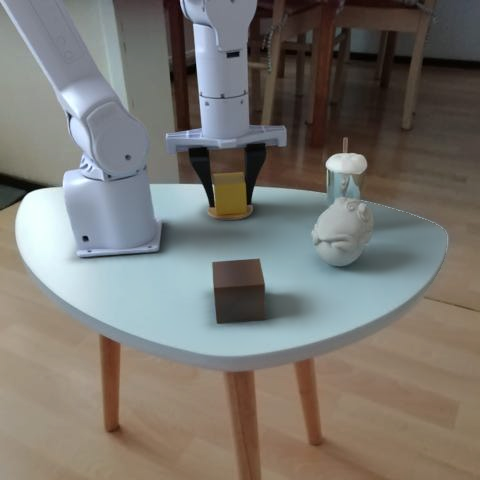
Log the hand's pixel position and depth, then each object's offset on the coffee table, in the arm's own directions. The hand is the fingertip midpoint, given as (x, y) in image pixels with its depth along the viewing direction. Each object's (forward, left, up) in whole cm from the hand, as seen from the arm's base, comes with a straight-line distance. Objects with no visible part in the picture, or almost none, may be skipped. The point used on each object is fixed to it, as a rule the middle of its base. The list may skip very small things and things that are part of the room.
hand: (230, 203), depth 65 cm
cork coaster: (0, 0, -1) cm, 1 cm away
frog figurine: (+11, -15, -1) cm, 19 cm away
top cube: (0, 0, -1) cm, 1 cm away
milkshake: (+13, -7, -1) cm, 15 cm away
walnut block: (0, -22, -1) cm, 22 cm away
